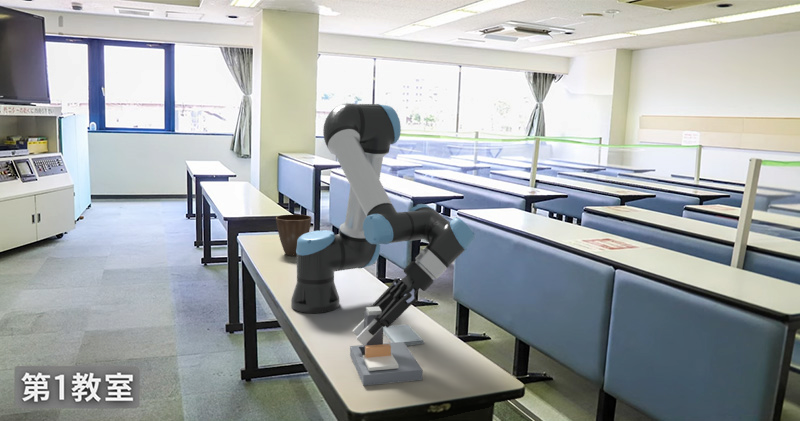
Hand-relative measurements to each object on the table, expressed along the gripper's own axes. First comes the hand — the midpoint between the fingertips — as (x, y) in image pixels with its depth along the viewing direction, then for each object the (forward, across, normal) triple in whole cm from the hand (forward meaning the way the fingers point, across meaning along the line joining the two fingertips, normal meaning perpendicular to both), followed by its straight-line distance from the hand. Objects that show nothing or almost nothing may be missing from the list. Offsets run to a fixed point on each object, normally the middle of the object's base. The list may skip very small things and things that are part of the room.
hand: (358, 338), depth 145 cm
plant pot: (+9, -113, 0) cm, 113 cm away
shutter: (0, +8, +5) cm, 10 cm away
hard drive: (-6, -14, +16) cm, 21 cm away
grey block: (0, 0, +5) cm, 5 cm away
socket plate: (0, +4, +8) cm, 9 cm away
